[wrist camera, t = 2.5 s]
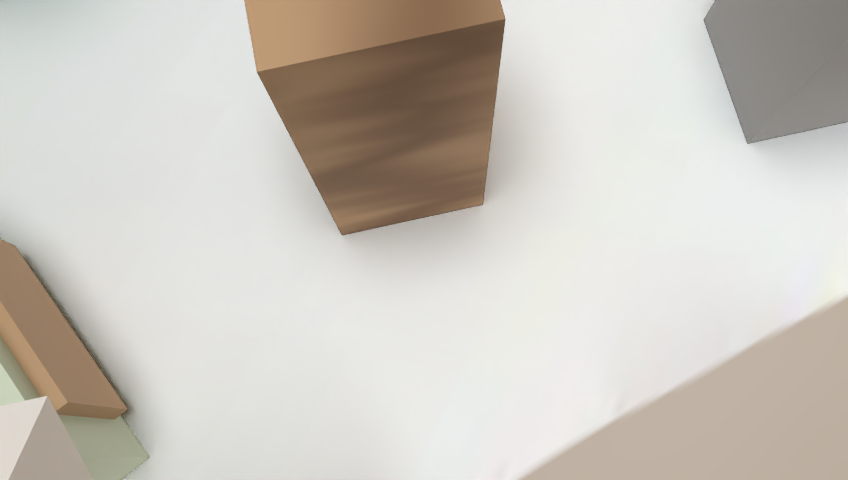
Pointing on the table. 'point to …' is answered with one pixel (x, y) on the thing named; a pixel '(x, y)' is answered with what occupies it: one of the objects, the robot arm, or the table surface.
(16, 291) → the base block
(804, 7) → the slate block
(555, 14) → the table surface
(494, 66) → the walnut block
